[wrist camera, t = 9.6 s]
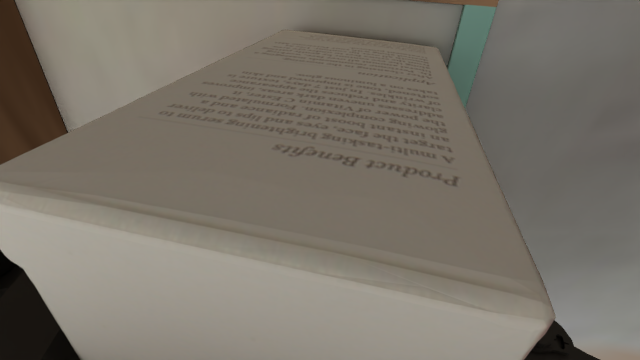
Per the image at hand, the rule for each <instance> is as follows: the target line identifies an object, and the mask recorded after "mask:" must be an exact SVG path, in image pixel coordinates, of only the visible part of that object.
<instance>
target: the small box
mask: <svg viewBox="0 0 640 360" xmlns="http://www.w3.org/2000/svg"><path fill="white" fill-rule="evenodd" d="M0 250H1V251H2V252H3V254H4V255H5V256H6V257H7V258H8V259H9V260H11V261H12V262H14V263H15V264H17V265H18V266H20V267H21V268H23V269H24V271H25V272H26V274H27V276H28V277H29V279H30V280H31V281H32V283H33V284H34V286H35V287H36V289H37V290H38V292H39V294H40V295H41V297H42V299H43V300H44V302H45V304H46V305H47V307H48V309H49V310H50V312H51V313H52V315H53V317H54V318H55V320H56V321H57V323H58V325H59V326H60V328H61V329H62V331H63V332H64V334H65V335H66V337H67V339H68V340H69V342H70V344H71V345H72V347H73V349H74V350H75V352H76V353H77V355H78V356H79V358H80V360H524V359H525V358H526V356H527V355H528V354H529V352H530V351H531V350H532V348H533V347H534V346H535V344H536V343H537V342H538V341H539V340H540V339H541V338H542V337H543V336H544V335H545V334H546V332H547V330H548V329H549V327H550V326H551V324H552V323H553V321H554V319H555V318H556V316H555V313H554V310H553V307H552V305H551V302H550V299H549V296H548V294H547V291H546V288H545V286H544V283H543V280H542V278H541V276H540V273H539V271H538V269H537V267H536V265H535V263H534V260H533V258H532V256H531V254H530V252H529V250H528V248H527V245H526V243H525V241H524V239H523V236H522V234H521V232H520V230H519V228H518V225H517V223H516V221H515V219H514V216H513V214H512V212H511V210H510V208H509V205H508V203H507V201H506V199H505V197H504V195H503V192H502V190H501V188H500V186H499V184H498V182H497V180H496V177H495V175H494V172H493V170H492V168H491V165H490V163H489V161H488V159H487V157H486V155H485V152H484V150H483V148H482V146H481V143H480V141H479V138H478V136H477V134H476V132H475V130H474V128H473V126H472V123H471V121H470V118H469V116H468V114H467V112H466V110H465V108H464V106H463V104H462V101H461V99H460V97H459V95H458V92H457V90H456V87H455V85H454V83H453V81H452V79H451V77H450V74H449V72H448V70H447V67H446V65H445V63H444V61H443V59H442V57H441V54H440V52H439V50H438V48H436V47H429V46H422V45H415V44H408V43H400V42H391V41H383V40H374V39H365V38H356V37H347V36H338V35H330V34H321V33H312V32H302V31H291V30H282V31H280V32H278V33H276V34H274V35H272V36H270V37H268V38H266V39H264V40H262V41H259V42H257V43H255V44H253V45H251V46H248V47H246V48H244V49H243V50H240V51H238V52H236V53H234V54H232V55H230V56H228V57H225V58H223V59H221V60H219V61H217V62H215V63H213V64H211V65H208V66H206V67H204V68H202V69H200V70H198V71H196V72H194V73H192V74H190V75H188V76H185V77H183V78H181V79H179V80H177V81H175V82H174V83H172V84H169V85H167V86H165V87H163V88H161V89H158V90H156V91H154V92H152V93H150V94H148V95H146V96H144V97H141V98H139V99H137V100H135V101H133V102H131V103H129V104H127V105H125V106H123V107H121V108H118V109H117V110H115V111H113V112H111V113H109V114H107V115H104V116H102V117H100V118H98V119H96V120H94V121H92V122H89V123H87V124H85V125H83V126H81V127H79V128H77V129H75V130H73V131H71V132H69V133H67V134H65V135H62V136H60V137H58V138H56V139H54V140H52V141H50V142H48V143H45V144H43V145H41V146H39V147H37V148H35V149H33V150H31V151H28V152H26V153H24V154H22V155H20V156H18V157H16V158H14V159H11V160H9V161H7V162H5V163H3V164H1V165H0Z"/></svg>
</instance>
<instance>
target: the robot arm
mask: <svg viewBox="0 0 640 360" xmlns="http://www.w3.org/2000/svg"><path fill="white" fill-rule="evenodd" d="M0 360H80V358H79V356H78V355H77V353H76V352H75V350H74V349H73V347H72V345H71V344H70V342H69V340H68V339H67V337H66V335H65V334H64V332H63V331H62V329H61V328H60V326H59V325H58V323H57V321H56V320H55V318H54V317H53V315H52V313H51V312H50V310H49V309H48V307H47V305H46V304H45V302H44V300H43V299H42V297H41V295H40V294H39V292H38V290H37V289H36V287H35V286H34V284H33V283H32V281H31V280H30V279H29V277H28V276H27V274H26V272H25V271H24V269H23V268H21V267H20V266H18V265H17V264H15V263H14V262H12V261H11V260H9V259H8V258H7V257H6V256H5V255H4V254H3V252H2V251H1V250H0ZM524 360H600V359H597V358H595V357H593V356H591V355H589V354H587V353H585V352H583V351H581V350H580V349H578V348H576V347H574V345H573V342H572V340H571V338H570V337H569V336H568V334H567V333H566V332H565V330H564V329H563V328H562V326H561V325H559V324H558V323H557V322H556V321H555V320H554V321H553V323H552V324H551V326H550V327H549V329H548V330H547V332H546V334H545V335H544V336H543V337H542V338H541V339H540V340H539V341H538V342H537V343H536V344H535V346H534V347H533V348H532V350H531V351H530V352H529V354H528V355H527V356H526V358H525V359H524Z"/></svg>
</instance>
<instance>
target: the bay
mask: <svg viewBox="0 0 640 360" xmlns="http://www.w3.org/2000/svg"><path fill="white" fill-rule="evenodd" d="M412 1H425V2H438V3H451V4H463V5H464V6H463V9H462V13H461V17H460V21H459V25H458V29H457V32H456V36H455V40H454V44H453V48H452V52H451V55H450V59H449V63H448V67H447V70H448V72H449V74H450V77H451V79H452V81H453V83H454V85H455V87H456V90H457V92H458V95H459V97H460V99H461V101H462V104H463V106H464V108H465V107H466V104H467V100H468V97H469V94H470V91H471V88H472V84H473V81H474V78H475V75H476V72H477V68H478V65H479V62H480V59H481V55H482V52H483V49H484V46H485V43H486V39H487V36H488V33H489V30H490V27H491V23H492V20H493V17H494V14H495V10H496V7H497V4H498V1H499V0H412ZM65 134H67V131H66V128H65V126H64V123H63V121H62V118H61V116H60V113H59V111H58V108H57V106H56V104H55V101H54V99H53V96H52V94H51V91H50V89H49V86H48V84H47V81H46V79H45V76H44V74H43V71H42V69H41V66H40V64H39V61H38V59H37V56H36V54H35V52H34V49H33V47H32V44H31V42H30V39H29V37H28V34H27V32H26V29H25V27H24V24H23V22H22V19H21V17H20V14H19V12H18V9H17V7H16V4H15V2H14V0H0V165H1V164H3V163H5V162H7V161H9V160H11V159H14V158H16V157H18V156H20V155H22V154H24V153H26V152H28V151H31V150H33V149H35V148H37V147H39V146H41V145H43V144H45V143H48V142H50V141H52V140H54V139H56V138H58V137H60V136H62V135H65Z"/></svg>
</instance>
